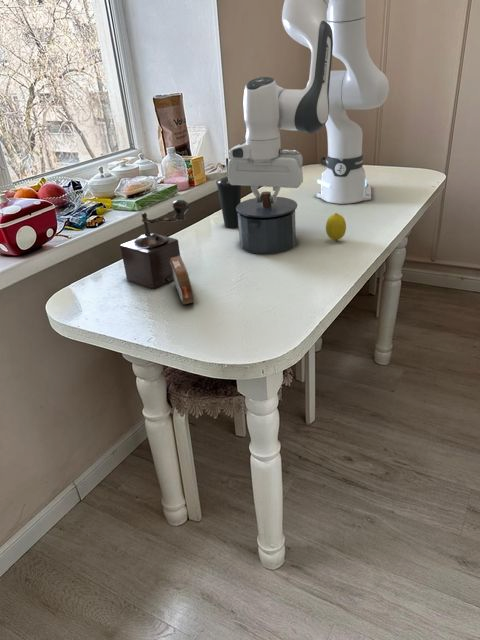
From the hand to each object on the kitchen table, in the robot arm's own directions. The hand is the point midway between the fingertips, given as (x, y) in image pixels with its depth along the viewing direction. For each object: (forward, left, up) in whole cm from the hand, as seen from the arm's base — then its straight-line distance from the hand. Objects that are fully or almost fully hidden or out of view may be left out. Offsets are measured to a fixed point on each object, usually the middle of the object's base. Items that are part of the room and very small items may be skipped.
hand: (266, 202), depth 145 cm
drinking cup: (-12, -16, -12) cm, 23 cm away
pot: (0, 0, -12) cm, 12 cm away
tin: (+36, -8, -12) cm, 39 cm away
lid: (0, 0, -1) cm, 1 cm away
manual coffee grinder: (+26, -19, -12) cm, 35 cm away
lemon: (-6, +18, -12) cm, 22 cm away
